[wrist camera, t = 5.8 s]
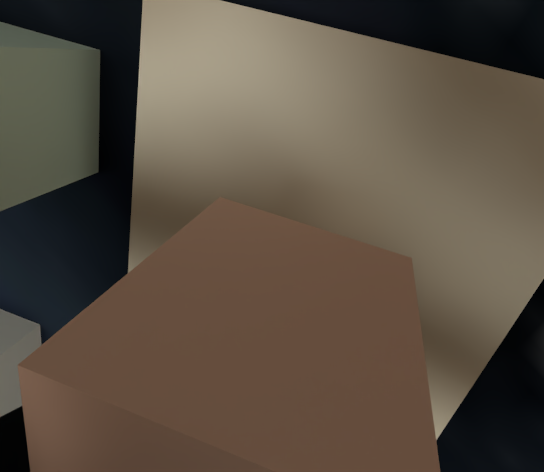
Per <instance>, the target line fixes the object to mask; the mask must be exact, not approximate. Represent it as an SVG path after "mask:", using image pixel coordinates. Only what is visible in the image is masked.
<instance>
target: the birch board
mask: <svg viewBox="0 0 544 472" xmlns="http://www.w3.org/2000/svg"><path fill="white" fill-rule="evenodd" d="M219 197H222V198H225V199H228V200H231V201H234V202H237V203H241V204H244V205H247V206H250V207H253V208H256V209H260V210H263V211H266V212H269V213H272V214H275V215H278V216H282V217H285V218H288V219H291V220H294V221H297V222H300V223H304V224H307V225H310V226H313V227H316V228H319V229H322V230H326V231H329V232H332V233H335V234H338V235H341V236H344V237H348V238H351V239H354V240H357V241H360V242H363V243H367V244H370V245H373V246H376V247H379V248H382V249H385V250H389V251H392V252H395V253H398V254H401V255H404V256H407V257H411V258H412V264H413V271H414V279H415V286H416V294H417V301H418V309H419V316H420V324H421V331H422V339H423V346H424V353H425V361H426V368H427V376H428V383H429V391H430V398H431V406H432V413H433V421H434V428H435V436H436V440H437V438H438V437H439V435H440V434H441V432H442V431H443V429H444V428H445V426H446V425H447V423H448V422H449V420H450V419H451V417H452V416H453V414H454V413H455V411H456V410H457V408H458V407H459V405H460V404H461V402H462V401H463V399H464V398H465V396H466V395H467V393H468V392H469V390H470V389H471V387H472V386H473V384H474V383H475V381H476V380H477V378H478V377H479V375H480V374H481V372H482V371H483V369H484V368H485V366H486V365H487V363H488V362H489V360H490V359H491V357H492V356H493V354H494V353H495V351H496V350H497V348H498V347H499V345H500V344H501V342H502V341H503V339H504V338H505V336H506V335H507V333H508V332H509V330H510V329H511V327H512V326H513V324H514V323H515V321H516V320H517V318H518V317H519V315H520V314H521V312H522V311H523V309H524V307H525V306H526V304H527V303H528V301H529V300H530V298H531V297H532V295H533V294H534V292H535V291H536V289H537V288H538V286H539V285H540V283H541V282H542V280H543V279H544V79H540V78H536V77H532V76H528V75H524V74H520V73H516V72H512V71H508V70H504V69H499V68H495V67H491V66H487V65H483V64H479V63H475V62H471V61H467V60H463V59H458V58H454V57H450V56H446V55H442V54H438V53H434V52H430V51H426V50H422V49H418V48H413V47H409V46H405V45H401V44H397V43H393V42H389V41H385V40H381V39H377V38H373V37H368V36H364V35H360V34H356V33H352V32H348V31H344V30H340V29H336V28H332V27H328V26H323V25H319V24H315V23H311V22H307V21H303V20H299V19H295V18H291V17H287V16H283V15H278V14H274V13H270V12H266V11H262V10H258V9H254V8H250V7H246V6H242V5H238V4H233V3H229V2H225V1H221V0H143V7H142V25H141V43H140V61H139V80H138V98H137V116H136V134H135V152H134V171H133V189H132V207H131V225H130V243H129V262H128V273H129V272H130V271H131V270H133V269H134V268H135V267H136V266H137V265H139V264H140V263H141V262H142V261H143V260H145V259H146V258H147V257H148V256H149V255H151V254H152V253H153V252H154V251H155V250H157V249H158V248H159V247H160V246H161V245H163V244H164V243H165V242H166V241H167V240H169V239H170V238H171V237H172V236H173V235H175V234H176V233H177V232H178V231H179V230H181V229H182V228H183V227H184V226H185V225H187V224H188V223H189V222H190V221H192V220H193V219H194V218H195V217H196V216H198V215H199V214H200V213H201V212H202V211H204V210H205V209H206V208H207V207H208V206H210V205H211V204H212V203H213V202H214V201H216V200H217V199H218V198H219Z"/></svg>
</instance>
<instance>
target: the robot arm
mask: <svg viewBox="0 0 544 472" xmlns="http://www.w3.org/2000/svg"><path fill="white" fill-rule="evenodd" d="M0 472H30V465H29V456H28V448H27V440H26V432H25V423H24V415H23V407H22V406H21V407H19V408H17V409H15V410H13V411H11V412H9V413H7V414H5V415H3V416H1V417H0Z"/></svg>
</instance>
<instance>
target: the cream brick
mask: <svg viewBox="0 0 544 472" xmlns="http://www.w3.org/2000/svg"><path fill="white" fill-rule="evenodd" d="M41 345H42V344H41V331H40V324H37V323H34V322H32V321H29V320H27V319H24V318H22V317H19V316H17V315H14V314H12V313H9V312H7V311H4V310H2V309H0V417H1V416H3V415H5V414H7V413H9V412H11V411H13V410H15V409H17V408H19V407H21V406H22V398H21V390H20V382H19V373H18V364H19V363H21V362H22V361H23V360H24V359H25V358H27V357H28V356H29V355H30V354H31V353H33V352H34V351H35V350H36V349H37V348H39V347H40V346H41Z"/></svg>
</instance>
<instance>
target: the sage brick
mask: <svg viewBox="0 0 544 472" xmlns="http://www.w3.org/2000/svg"><path fill="white" fill-rule="evenodd" d="M99 99H100V50H98V49H95V48H91V47H88V46H84V45H81V44H77V43H74V42H70V41H66V40H63V39H59V38H56V37H52V36H49V35H45V34H42V33H38V32H35V31H31V30H27V29H24V28H20V27H17V26H13V25H10V24H6V23H3V22H0V211H2V210H4V209H7V208H9V207H12V206H15V205H17V204H20V203H22V202H25V201H27V200H30V199H32V198H35V197H37V196H40V195H42V194H45V193H47V192H50V191H52V190H55V189H57V188H60V187H62V186H65V185H67V184H70V183H73V182H75V181H78V180H80V179H83V178H85V177H88V176H90V175H93V174H95V173H98V166H99Z"/></svg>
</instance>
